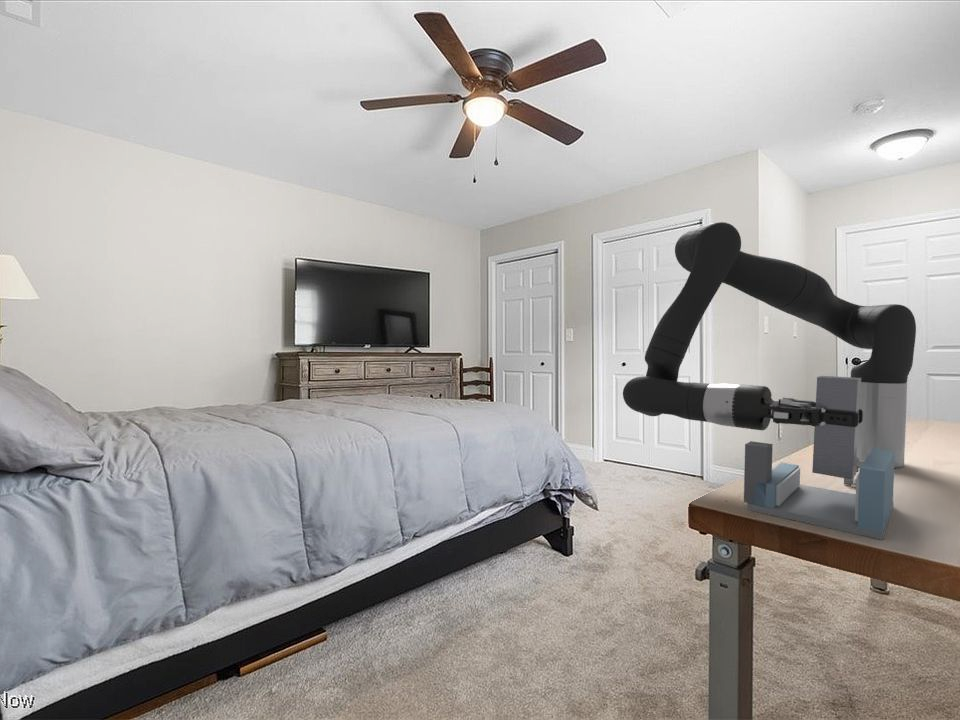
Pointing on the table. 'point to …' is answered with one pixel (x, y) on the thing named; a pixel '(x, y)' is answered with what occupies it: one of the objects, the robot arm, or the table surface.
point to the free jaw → (767, 477)
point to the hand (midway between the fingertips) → (859, 418)
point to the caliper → (859, 463)
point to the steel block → (836, 428)
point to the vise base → (846, 500)
